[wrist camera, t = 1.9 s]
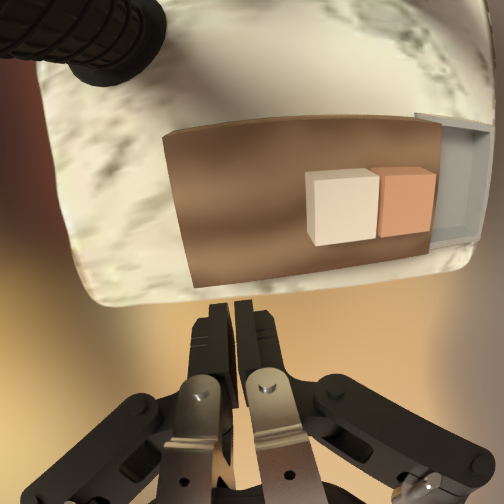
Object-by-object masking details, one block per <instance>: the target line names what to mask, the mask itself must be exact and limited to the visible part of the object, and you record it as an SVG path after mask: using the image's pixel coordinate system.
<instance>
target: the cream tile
mask: <svg viewBox="0 0 504 504" xmlns="http://www.w3.org/2000/svg"><path fill="white" fill-rule="evenodd" d="M305 184H306V209H307V233H308V234H309V236H310V238H311V240H312V241H313V243H314V245H315V246H322V245H329V244H337V243H344V242H352V241H359V240H367V239H374V238H376V227H377V214H378V198H379V176H378V175H376V174H375V173H373V172H371V171H369V170H368V169H366V168H357V169H340V170H325V171H312V172H305Z"/></svg>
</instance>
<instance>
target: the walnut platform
mask: <svg viewBox="0 0 504 504" xmlns="http://www.w3.org/2000/svg"><path fill="white" fill-rule="evenodd" d="M441 137H442V123H437V122H433V121H428V120H423V119H418V118H413V117H402V116H384V115H306V116H288V117H274V118H262V119H252V120H243V121H234V122H226V123H219V124H212V125H205V126H199V127H193V128H187V129H181V130H176V131H173V132H171V133H169V134H167V135H165V136H164V137H162V140H163V146H164V152H165V157H166V163H167V168H168V174H169V179H170V184H171V189H172V194H173V199H174V204H175V209H176V213H177V218H178V223H179V227H180V232H181V236H182V240H183V245H184V249H185V253H186V257H187V262H188V266H189V270H190V274H191V278H192V282H193V286H194V288H202V287H210V286H218V285H226V284H234V283H242V282H249V281H257V280H264V279H272V278H279V277H286V276H293V275H300V274H307V273H314V272H320V271H327V270H334V269H340V268H347V267H353V266H359V265H365V264H372V263H378V262H384V261H390V260H396V259H401V258H407V257H413V256H419V255H424V254H428V252H429V247H430V242H431V236H432V230H433V224H434V217H435V210H436V202H437V194H438V185H439V173H440V160H441ZM380 167H421V168H424V169H426V170H428V171H430V172H432V173H434V174H436V183H435V193H434V201H433V209H432V217H431V223H430V230H429V231H426V232H419V233H411V234H404V235H397V236H389V237H382V238H381V237H380V236H379V235H378V234H377V233H376V238H374V239H367V240H359V241H352V242H344V243H337V244H329V245H322V246H315V245H314V243H313V241H312V240H311V238H310V236H309V234H308V233H307V209H306V184H305V172H312V171H325V170H340V169H357V168H366V169H368V170H369V171H371V168H380Z"/></svg>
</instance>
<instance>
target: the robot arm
mask: <svg viewBox="0 0 504 504" xmlns="http://www.w3.org/2000/svg"><path fill="white" fill-rule="evenodd" d="M234 307H235V325H236V342H237V357H238V371H239V375H240V380H241V384H242V388H243V393H244V397H245V400H246V405H247V407H249V410H250V416H251V422H252V427H253V434H254V443H255V449H256V454H257V460H258V465H259V471H260V477H261V482H262V484H261V485H258V486H255V487H252V488H248V489H245V490H236V487H235V486H236V485H235V477H234V471H233V412H232V409H235V408H239V403H238V389H237V372H236V355H235V340H234V333H233V327H232V322H231V318H230V313H229V307H228V303H218V304H210V305H209V317H206V318H198V319H197V321H196V322H195V324H194V326H193V327H192V334H191V344H190V346H191V348H190V355H189V366H188V377H187V380H185V382H183V384H182V385H181V387H180V390H179V391H178V392H176V393H174V394H172V395H169V396H166V397H163V398H160V399H157V400H155V398H154V397H152V396H151V395H149V394H145V393H137V394H134V395H132V396H130V397H128V398H127V399H126V400H125V401H124V402H122V403H121V404H120V405H119V406H118V407H117V408H116V409H115V410H114V411H113V412H111V414H109V415H108V416H107V417H106V418H105V419H104V420H103V421H102V422H101V423H99V424H98V425H97V426H96V427H95V428H94V429H93V430H92V431H91V432H90V433H88V434H87V435H86V436H85V437H84V438H83V439H82V440H81V441H80V442H78V443H77V444H76V445H75V446H74V447H73V448H72V449H71V450H69V451H68V452H67V453H66V454H65V455H64V456H63V457H62V458H60V459H59V460H58V461H57V462H56V463H55V464H54V465H53V466H51V467H50V468H49V469H48V470H47V471H46V472H44V473H43V474H42V475H41V476H40V477H39V478H38V479H36V480H35V481H34V482H33V483H32V484H31V485H29V486H28V487H27V488H26V489H25V490H24V491H23V492H22V495H21V499H20V504H129V503H130V502H131V501H132V500H133V499H134V498H135V497H136V496H137V495H138V494H139V493H140V492H141V491H142V490H143V489H144V488H145V487H146V486H147V485H148V484H149V483H150V482H151V481H152V480H153V479H154V478H155V477H156V476H157V475H158V474H159V479H158V486H157V494H156V498H155V499H154V500H152V501H151V502H150V503H148V504H366V503H365V502H363V501H361V500H360V499H358V498H357V497H355V496H354V495H352V494H351V493H349V492H348V491H346V490H345V489H343V488H341V487H339V486H336V485H333V484H331V483H327V482H323V481H321V477H320V474H319V471H318V467H317V464H316V461H315V457H314V454H313V451H312V447H311V444H310V441H309V437H308V436H312V437H313V438H314V439H315V440H317V441H318V442H319V443H321V444H322V445H324V446H325V447H327V448H328V449H329V450H331V451H332V452H334V453H335V454H337V455H338V456H340V457H342V458H343V459H344V460H346V461H348V462H349V463H351V464H352V465H354V466H355V467H357V468H359V469H360V470H362V471H364V472H365V473H367V474H368V475H370V476H372V477H373V478H375V479H377V480H378V481H380V482H382V483H384V484H385V485H387V486H389V487H391V488H392V489H394V490H393V493H392V496H391V502H392V504H464V503H465V501H466V499H467V498H468V496H469V495H470V493H472V492H474V491H475V490H477V489H479V488H480V487H482V486H484V485H485V484H486V483H488V481H489V480H490V479H491V477H492V476H493V474H494V471H495V459H494V456H493V455H492V454H491V452H490V451H489V450H487V449H485V448H483V447H481V446H478V445H476V444H474V443H472V442H470V441H468V440H466V439H464V438H462V437H460V436H457V435H455V434H453V433H451V432H449V431H447V430H445V429H443V428H441V427H439V426H437V425H435V424H433V423H431V422H429V421H427V420H425V419H424V418H422V417H420V416H418V415H416V414H414V413H412V412H410V411H409V410H407V409H405V408H403V407H401V406H399V405H397V404H396V403H394V402H392V401H390V400H388V399H386V398H385V397H383V396H381V395H379V394H378V393H376V392H374V391H372V390H370V389H368V388H367V387H365V386H364V385H362V384H360V383H358V382H357V381H355V380H353V379H351V378H349V377H348V376H346V375H343V374H330V375H327V376H324V377H323V378H321V379H320V380H319V381H318V382H308V381H301V380H298V379H295V378H293V377H292V376H290V375H289V374H288V373H287V372H286V370H285V368H284V364H283V359H282V355H281V350H280V345H279V340H278V336H277V331H276V326H275V322H274V318H273V316H272V315H271V314H270V313H269V312H268V311H267V310H263V311H255V312H254V311H253V304H252V300H242V301H235V302H234Z"/></svg>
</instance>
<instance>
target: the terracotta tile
mask: <svg viewBox="0 0 504 504" xmlns="http://www.w3.org/2000/svg"><path fill="white" fill-rule="evenodd" d="M371 172H373V173H375V174H376V175H378V176H379V198H378V214H377V227H376V233H377V234H378V235H379V236H380V237H381V238H382V237H389V236H397V235H404V234H411V233H419V232H426V231H429V230H430V223H431V217H432V209H433V201H434V193H435V183H436V174H434V173H432V172H430V171H428V170H426V169H424V168H421V167H380V168H371Z"/></svg>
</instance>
